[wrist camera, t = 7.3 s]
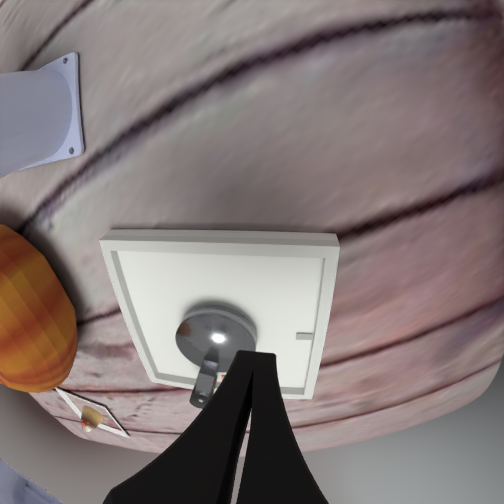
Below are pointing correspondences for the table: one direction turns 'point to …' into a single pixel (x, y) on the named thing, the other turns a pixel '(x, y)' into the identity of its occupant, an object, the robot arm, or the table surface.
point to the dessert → (91, 415)
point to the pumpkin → (33, 319)
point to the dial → (213, 344)
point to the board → (226, 294)
